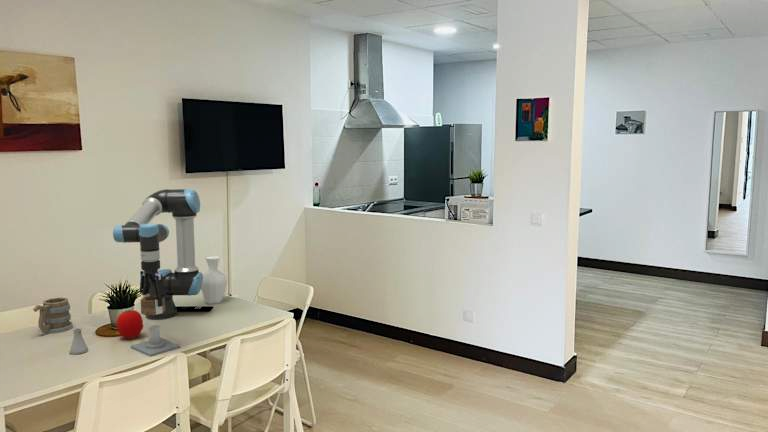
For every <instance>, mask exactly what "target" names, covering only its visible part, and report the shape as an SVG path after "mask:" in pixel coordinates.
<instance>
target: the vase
mask: <svg viewBox="0 0 768 432" xmlns="http://www.w3.org/2000/svg"><path fill="white" fill-rule="evenodd" d="M220 258H221V257H220V256H215V255H214V256H213V255H211V256H207V257H205V261H206V263H207V267H208V270H207V271H206V272H204V274H202V275H203V282H202V287H201V290H200V291H201V293H202V296H203V300H204V302H205V303H206V304H208V305H216V304H219V303H222V301H223V298H224V296H225V293H226V289H227V283H228V282H227V281H228V278H227V274H225V273H223V272H221V271H220V270H219V269H218V266H219V263H220Z"/></svg>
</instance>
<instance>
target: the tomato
mask: <svg viewBox="0 0 768 432" xmlns="http://www.w3.org/2000/svg"><path fill="white" fill-rule="evenodd" d="M143 323H144V321H143V317H142V315H141V314H140V312H138V311H137V310H135V309H134V310H130V309H128V310H126V311H125V310H124V311H122V312H121V313H120V314H119V315H118V317H117V320H116V325H115V326H116V329H117V332H118V333H119V334H120V336H121V337H123V338H125V339H134V338H137V337H138V336H139V335H140V334H141V331H142V329H143V325H144V324H143Z"/></svg>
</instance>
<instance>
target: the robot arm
mask: <svg viewBox="0 0 768 432" xmlns="http://www.w3.org/2000/svg"><path fill="white" fill-rule="evenodd" d="M200 200H201V199H200V196H199V194H198V192H197V191H196V190H195V189H188V188H187V189H186V188H182V189H181V188H180V189H179V188H175V189H174V188H173V189H168V188H167V189H161V190H158V191H156V192H153V193H151V194H150V195H149V196H147V197H146V198H145V199H144V200H143V201H142V205H141V207H140V208H139V209H137V211H136V212H135V213H134V214H133V215H132V216H131V217H130V218H129V219H128V220H127V222H126V223H125V224H124V225H122V224H121V225H116V226H114V227H113V232H112V237H113V240H114V241H115V242H116V243H124V244H125V243H139V246H140V254H139V255H140V260H141V262H140V265H141V270H140V272H139V273H140V275H139V276H140V282H139V283H140V284H139V293H141V295H142V298H144V297H148V296H156V298H155V308H156V314H157V315H145V318H147V319H148V320H149V319H150V320H165V319H166V320H167V319H170V318H172V317H175V316H177V315H178V310H177V307H176V304H175V302H174V298H173V296H189V297H190V296H197V295H198V294H200V293H201V291H202V290H201V287H202V282H203V275H204V274H203V272H201V271H200V270H199V267H198V266H197V265H196V253H195V252H196V251H195V250H196V247H195V226H194V225H195V223H194V221H195V220H194V219H195V218H196V217H197V213H199V212H200V210H201V201H200ZM163 213H167V214H169V213H170V214H172V218H173V219H174V220H175V235H176V240H175V241H176V259H177V261H176V263H177V266H176V268H175V269H174V272H173V271H172V269H170V268H165V269H160V268H161V260H160V259H161V255H160V254H161V253H160V252H161V251H160V243H161V242H164V241H165V240H166V239H168V237H169V234H170V230H169V228H168V226H167V225H165V224H164V223H163V224H162V223H159V224H157V223H153V222H152V223H151V221H153V219H154V218H155V217H156V216H159V215H160V214H163ZM162 298H165V311H164V313H163V310H162Z"/></svg>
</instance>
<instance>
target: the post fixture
mask: <svg viewBox="0 0 768 432" xmlns="http://www.w3.org/2000/svg"><path fill="white" fill-rule="evenodd" d="M160 329H161V328H160V325H158V324H153V325H150V326H149V340H146V341H142V342H139V343H136V344H131V345H130V349H132V350H135V351H136V352H139V353H141V354H143V355H146V356H148V357H154V356H158V355H160V354H164V353H167V352H170V351H173V350H174V351H175V350H176V349H181V344H178V343H176V342H173V341H171V340H168V339H165V338H163V337H161V332H160Z"/></svg>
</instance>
